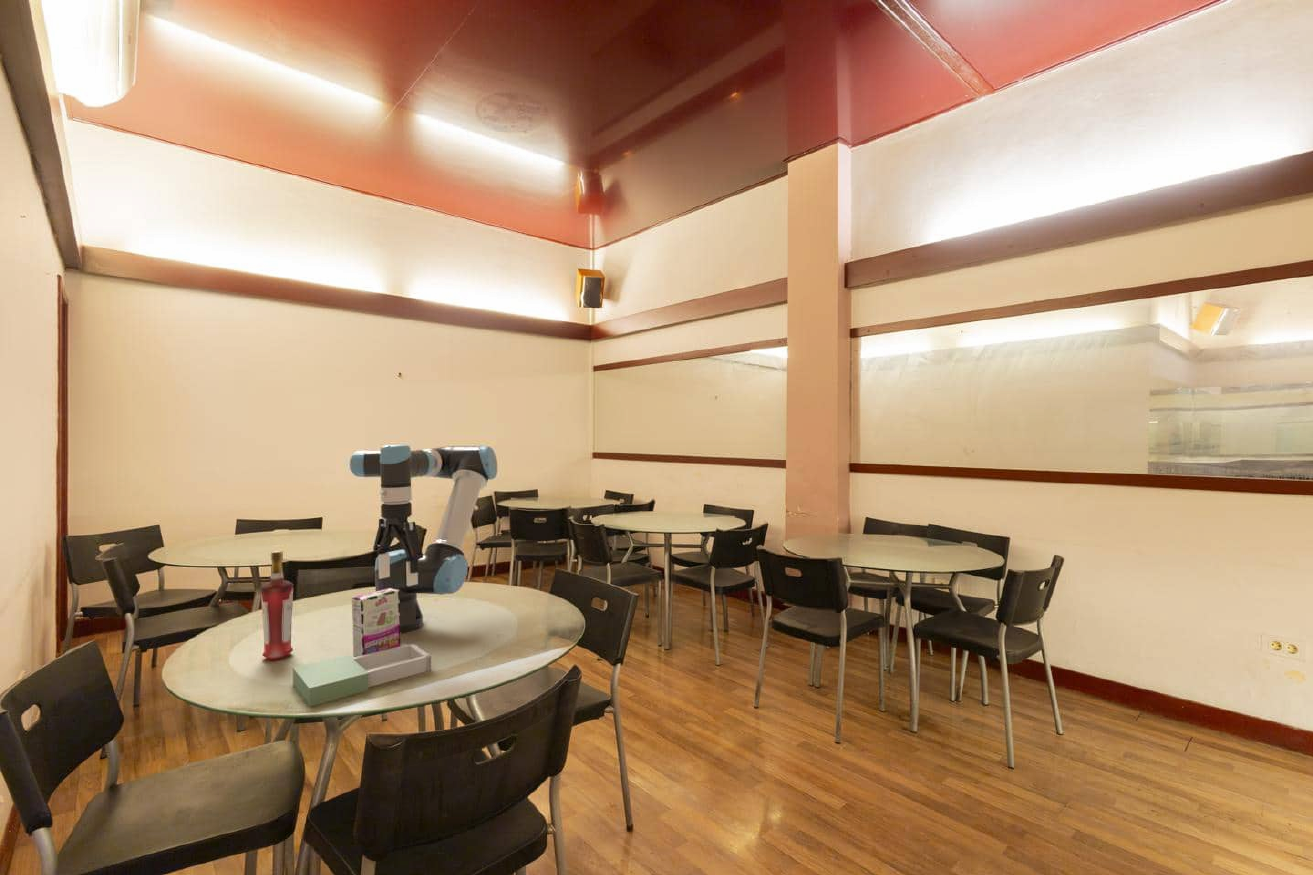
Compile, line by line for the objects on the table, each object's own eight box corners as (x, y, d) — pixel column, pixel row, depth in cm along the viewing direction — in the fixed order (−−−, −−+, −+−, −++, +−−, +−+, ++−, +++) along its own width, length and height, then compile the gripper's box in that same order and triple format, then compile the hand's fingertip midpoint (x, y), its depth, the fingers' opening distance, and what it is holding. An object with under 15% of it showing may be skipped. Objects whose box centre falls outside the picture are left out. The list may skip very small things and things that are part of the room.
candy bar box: (390, 645, 165) (389, 587, 165) (401, 649, 163) (400, 589, 163) (351, 658, 156) (350, 596, 156) (362, 662, 153) (362, 599, 153)
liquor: (264, 654, 159) (263, 550, 159) (296, 650, 162) (295, 548, 162) (258, 663, 153) (257, 555, 153) (291, 659, 156) (290, 553, 156)
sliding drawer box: (293, 684, 140) (292, 667, 140) (410, 654, 158) (409, 639, 158) (309, 706, 128) (309, 688, 128) (434, 672, 147) (433, 655, 147)
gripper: (358, 500, 163) (360, 577, 163) (409, 507, 148) (411, 591, 149) (384, 497, 169) (386, 571, 169) (436, 504, 154) (437, 584, 155)
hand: (398, 581), depth 159 cm, fingers open, 13 cm apart
